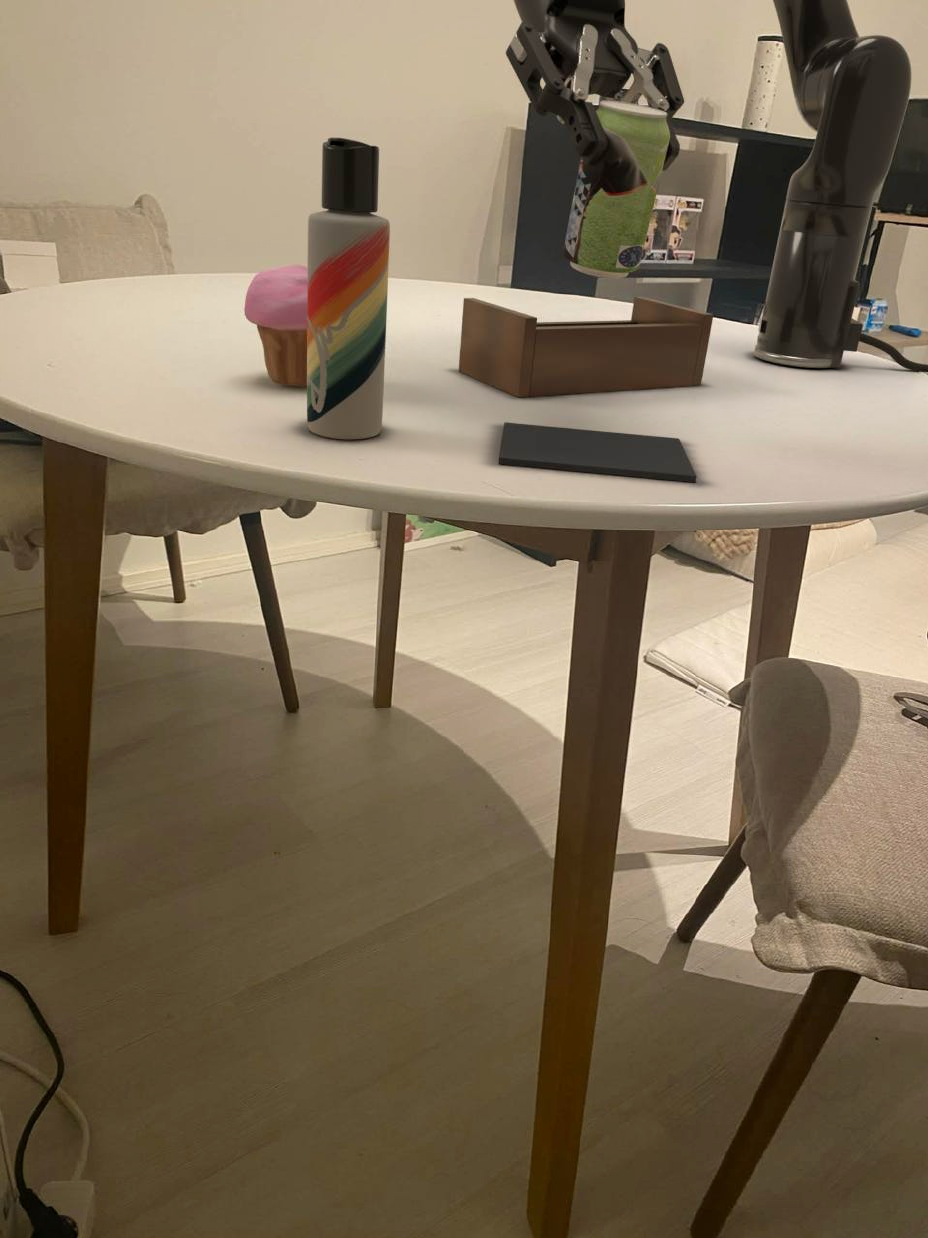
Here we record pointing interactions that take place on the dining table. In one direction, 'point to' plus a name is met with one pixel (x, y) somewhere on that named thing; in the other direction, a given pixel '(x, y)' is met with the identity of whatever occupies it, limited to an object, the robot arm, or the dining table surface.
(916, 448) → the dining table surface
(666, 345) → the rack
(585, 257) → the beverage can
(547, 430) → the mat
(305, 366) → the cupcake
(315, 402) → the lotion bottle
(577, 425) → the dining table surface
